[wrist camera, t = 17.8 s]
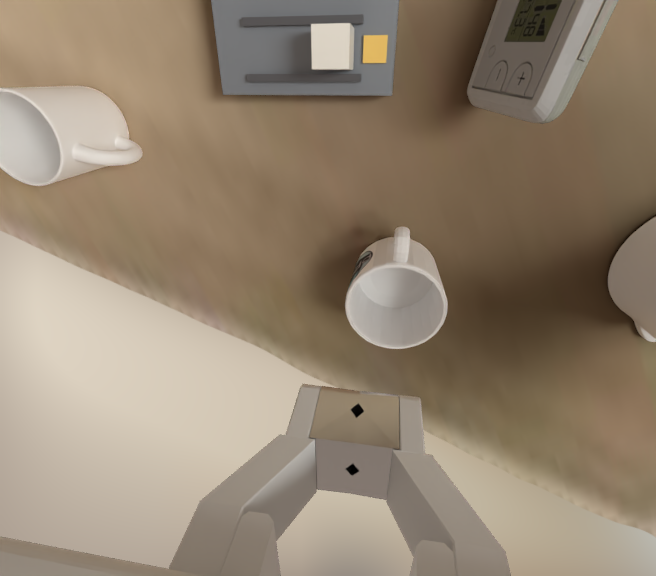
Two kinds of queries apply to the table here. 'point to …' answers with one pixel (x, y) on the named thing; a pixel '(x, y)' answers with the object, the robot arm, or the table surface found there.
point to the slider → (332, 46)
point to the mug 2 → (396, 293)
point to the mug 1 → (61, 133)
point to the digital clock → (536, 55)
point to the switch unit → (302, 46)
